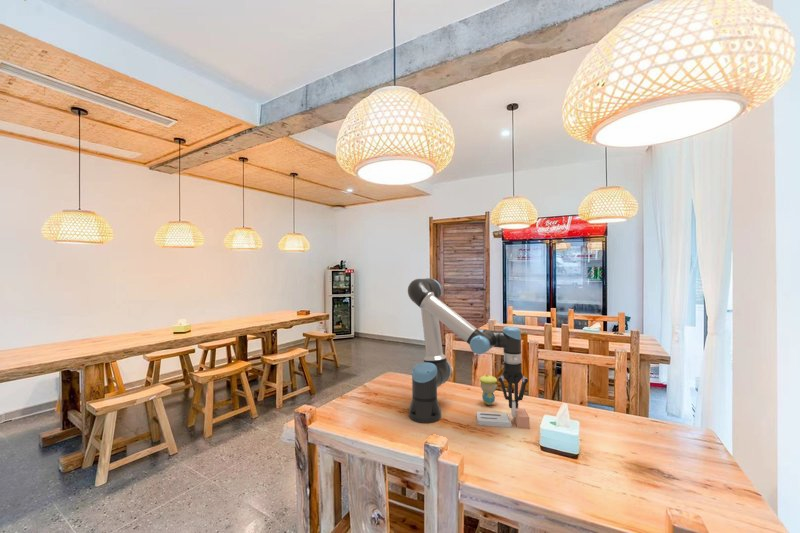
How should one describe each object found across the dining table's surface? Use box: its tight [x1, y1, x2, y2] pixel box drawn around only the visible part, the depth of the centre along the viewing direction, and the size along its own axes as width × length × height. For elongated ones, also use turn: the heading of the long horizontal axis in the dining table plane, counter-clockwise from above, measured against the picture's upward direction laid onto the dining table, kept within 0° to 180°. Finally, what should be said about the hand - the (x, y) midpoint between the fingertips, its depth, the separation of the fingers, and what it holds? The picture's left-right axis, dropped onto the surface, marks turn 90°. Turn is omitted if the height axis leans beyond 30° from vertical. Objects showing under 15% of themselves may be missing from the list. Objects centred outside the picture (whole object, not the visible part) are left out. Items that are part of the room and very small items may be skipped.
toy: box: [478, 374, 498, 406], centre depth 162 cm, size 8×9×15 cm
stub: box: [513, 407, 530, 430], centre depth 141 cm, size 5×9×5 cm, turn 170°
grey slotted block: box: [476, 411, 512, 428], centre depth 143 cm, size 14×9×2 cm, turn 80°
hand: (513, 415), depth 142 cm, fingers closed
